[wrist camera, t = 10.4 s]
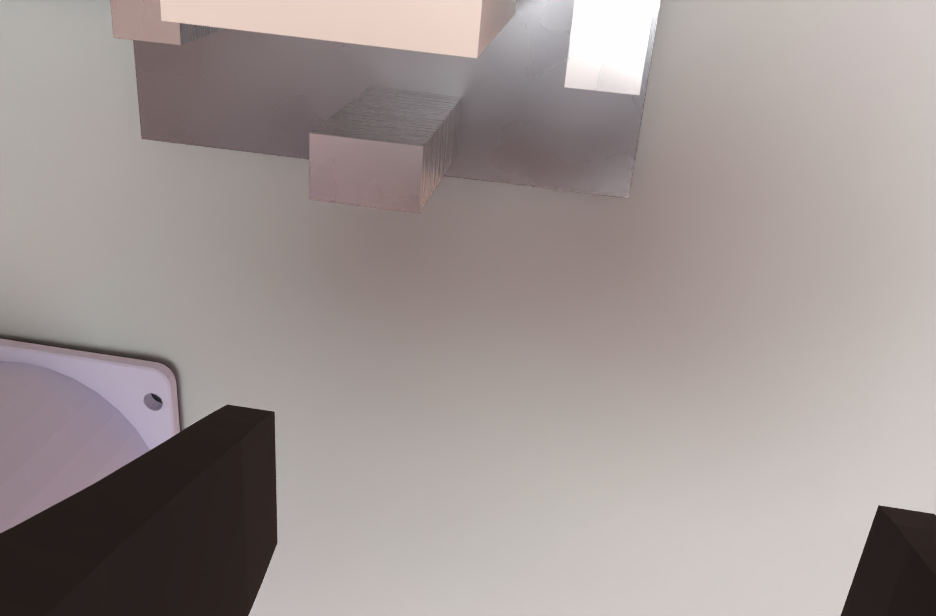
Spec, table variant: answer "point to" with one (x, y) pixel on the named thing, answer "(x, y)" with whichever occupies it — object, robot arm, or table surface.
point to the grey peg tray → (409, 101)
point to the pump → (358, 21)
